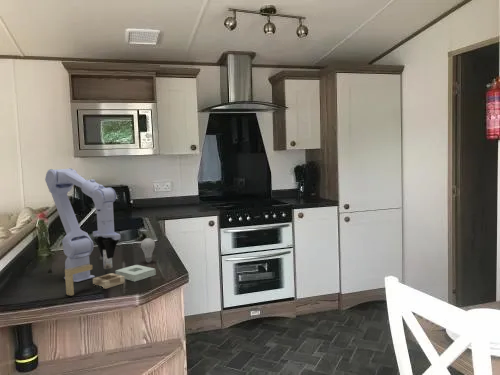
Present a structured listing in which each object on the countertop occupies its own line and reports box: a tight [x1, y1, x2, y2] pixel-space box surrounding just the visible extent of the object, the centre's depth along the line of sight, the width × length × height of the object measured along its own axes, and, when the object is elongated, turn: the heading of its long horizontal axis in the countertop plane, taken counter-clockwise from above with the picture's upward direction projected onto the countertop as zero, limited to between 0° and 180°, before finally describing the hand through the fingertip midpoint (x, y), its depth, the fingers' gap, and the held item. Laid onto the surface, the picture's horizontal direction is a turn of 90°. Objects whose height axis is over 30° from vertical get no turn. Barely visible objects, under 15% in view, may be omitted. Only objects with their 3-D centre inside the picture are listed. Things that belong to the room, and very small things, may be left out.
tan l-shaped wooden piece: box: [64, 264, 93, 296], centre depth 137 cm, size 3×8×9 cm, turn 143°
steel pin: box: [102, 249, 113, 270], centre depth 146 cm, size 3×3×7 cm
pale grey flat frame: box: [114, 264, 157, 282], centre depth 156 cm, size 12×10×2 cm
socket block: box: [92, 272, 126, 289], centre depth 146 cm, size 8×8×2 cm
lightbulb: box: [140, 237, 156, 264], centre depth 175 cm, size 6×6×11 cm
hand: (107, 257), depth 146 cm, fingers closed on steel pin, 3 cm apart
